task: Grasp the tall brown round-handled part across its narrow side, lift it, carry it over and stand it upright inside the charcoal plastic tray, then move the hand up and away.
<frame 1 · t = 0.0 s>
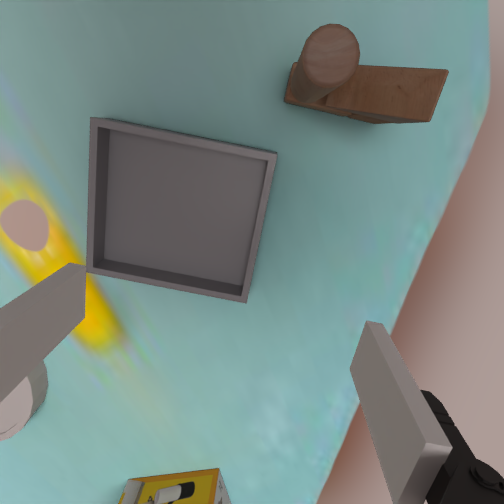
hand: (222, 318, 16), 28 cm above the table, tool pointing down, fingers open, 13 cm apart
brown round-handled part: (334, 96, 38), on the table
tray: (183, 209, 43), on the table
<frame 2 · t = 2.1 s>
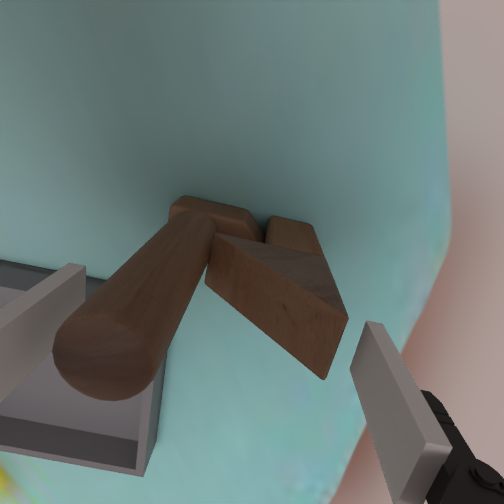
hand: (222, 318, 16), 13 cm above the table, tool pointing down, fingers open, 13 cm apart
brown round-handled part: (244, 228, 29), on the table
tray: (62, 354, 34), on the table
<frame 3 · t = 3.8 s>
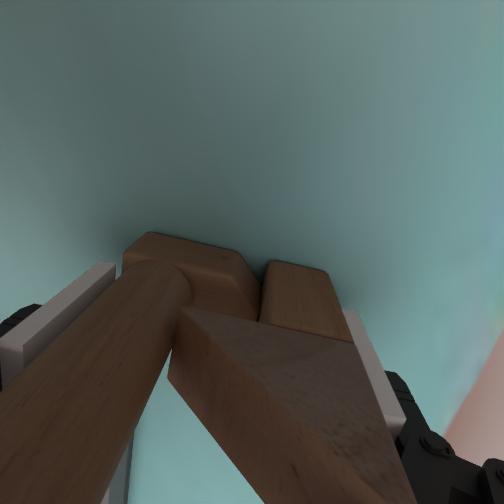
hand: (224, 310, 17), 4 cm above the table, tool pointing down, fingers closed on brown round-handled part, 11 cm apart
brown round-handled part: (233, 276, 21), on the table, touching gripper
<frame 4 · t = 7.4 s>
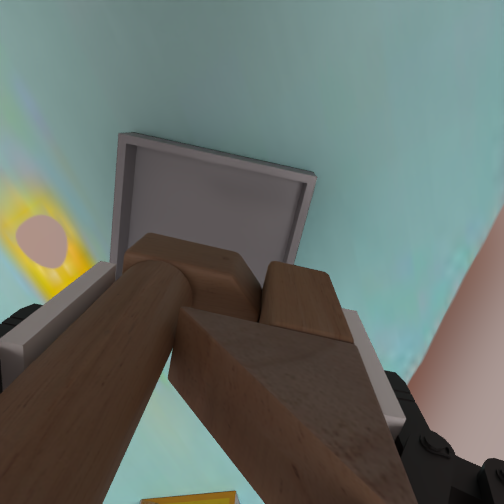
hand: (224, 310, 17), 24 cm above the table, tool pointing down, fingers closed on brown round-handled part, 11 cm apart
brown round-handled part: (233, 276, 21), point 20 cm above the table, touching gripper
tray: (210, 229, 41), on the table
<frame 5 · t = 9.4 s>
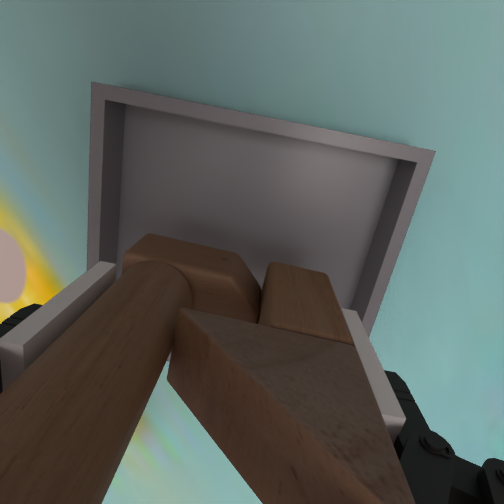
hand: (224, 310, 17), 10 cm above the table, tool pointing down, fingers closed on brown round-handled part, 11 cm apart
brown round-handled part: (233, 277, 21), point 6 cm above the table, touching gripper
tray: (242, 241, 27), on the table
when the fingers open (6 cm above the table, at t = 10.8 s): brown round-handled part drops 1 cm, resting on tray.
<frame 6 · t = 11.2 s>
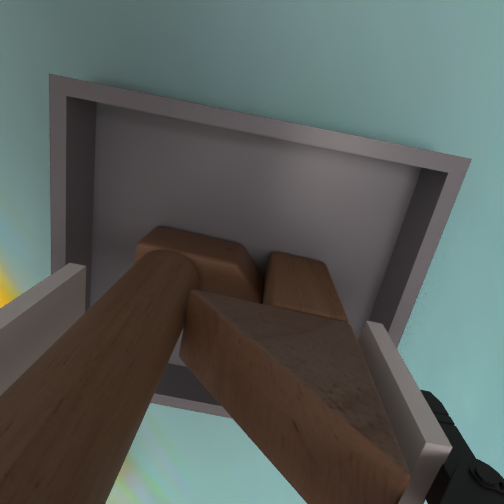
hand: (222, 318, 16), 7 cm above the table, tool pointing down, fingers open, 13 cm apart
brown round-handled part: (237, 267, 22), point 1 cm above the table, touching tray
tray: (236, 262, 23), on the table
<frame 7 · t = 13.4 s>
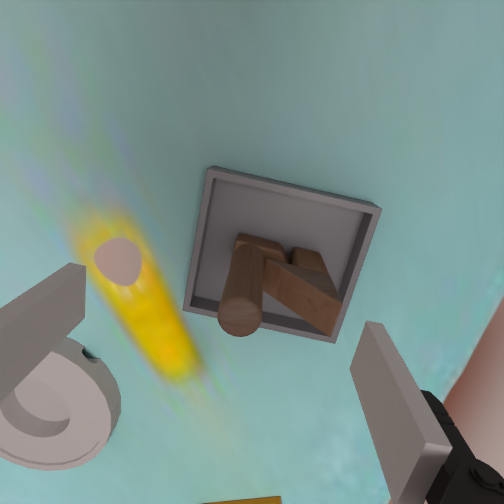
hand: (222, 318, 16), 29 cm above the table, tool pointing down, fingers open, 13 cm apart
brown round-handled part: (276, 254, 45), point 1 cm above the table, touching tray
tray: (275, 252, 45), on the table
ashtray: (50, 391, 55), on the table
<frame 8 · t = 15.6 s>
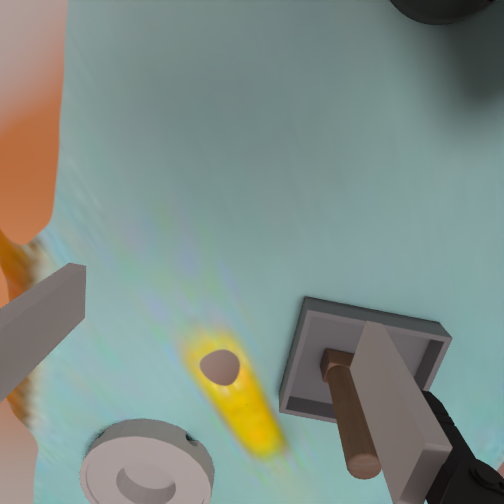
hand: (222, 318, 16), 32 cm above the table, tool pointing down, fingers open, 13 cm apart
brown round-handled part: (356, 363, 53), point 1 cm above the table, touching tray
tray: (354, 359, 54), on the table
ashtray: (152, 465, 64), on the table
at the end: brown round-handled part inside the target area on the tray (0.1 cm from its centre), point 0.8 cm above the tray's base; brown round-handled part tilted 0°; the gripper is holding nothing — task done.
